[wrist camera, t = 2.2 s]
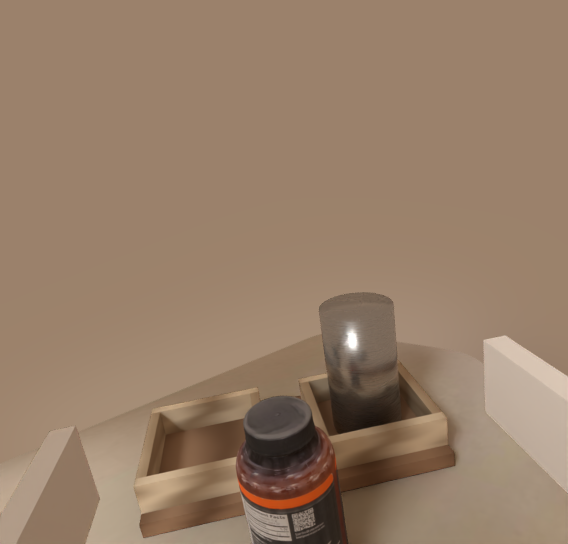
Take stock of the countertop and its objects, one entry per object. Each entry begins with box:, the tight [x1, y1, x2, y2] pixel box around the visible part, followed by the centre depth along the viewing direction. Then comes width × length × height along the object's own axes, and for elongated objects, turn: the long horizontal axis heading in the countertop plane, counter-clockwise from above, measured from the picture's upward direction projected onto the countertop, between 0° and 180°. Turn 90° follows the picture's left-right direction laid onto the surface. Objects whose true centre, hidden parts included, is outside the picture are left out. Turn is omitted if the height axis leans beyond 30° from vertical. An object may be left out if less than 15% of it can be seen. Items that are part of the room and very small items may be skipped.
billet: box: [319, 293, 402, 434], centre depth 38 cm, size 6×6×11 cm
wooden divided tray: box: [134, 359, 455, 538], centre depth 39 cm, size 24×12×4 cm, turn 98°
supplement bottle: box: [236, 396, 348, 544], centre depth 27 cm, size 6×6×11 cm
